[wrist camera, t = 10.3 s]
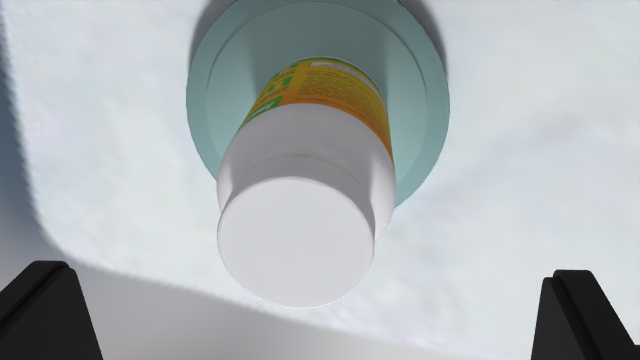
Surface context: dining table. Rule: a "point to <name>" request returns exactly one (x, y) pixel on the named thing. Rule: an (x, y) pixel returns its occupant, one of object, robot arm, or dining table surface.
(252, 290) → the supplement bottle
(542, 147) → the dining table surface
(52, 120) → the dining table surface
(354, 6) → the dish
